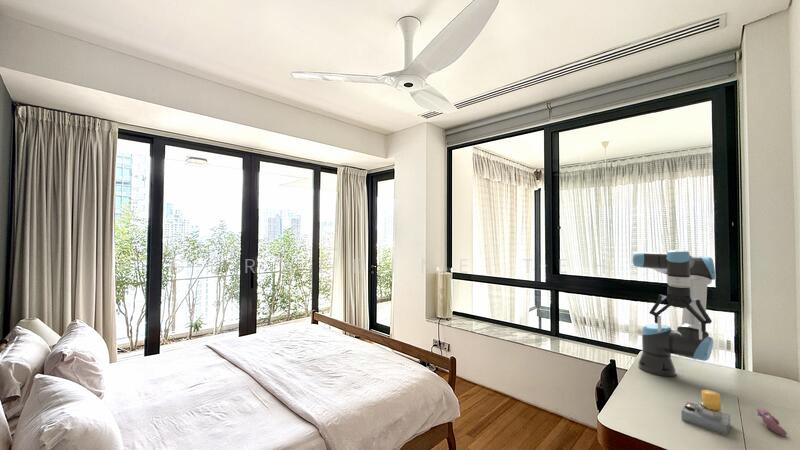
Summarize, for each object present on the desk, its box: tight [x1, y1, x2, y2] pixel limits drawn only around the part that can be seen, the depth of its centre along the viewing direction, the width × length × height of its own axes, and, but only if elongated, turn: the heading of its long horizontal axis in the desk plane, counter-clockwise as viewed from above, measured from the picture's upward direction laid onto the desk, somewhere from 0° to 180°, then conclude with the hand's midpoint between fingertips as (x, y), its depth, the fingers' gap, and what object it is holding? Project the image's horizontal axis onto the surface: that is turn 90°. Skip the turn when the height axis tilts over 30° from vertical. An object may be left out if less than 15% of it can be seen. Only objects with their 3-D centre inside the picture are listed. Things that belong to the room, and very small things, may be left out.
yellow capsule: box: [701, 389, 722, 411], centre depth 118 cm, size 5×5×8 cm
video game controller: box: [756, 408, 787, 437], centre depth 117 cm, size 10×5×7 cm, turn 141°
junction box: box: [681, 401, 731, 436], centre depth 119 cm, size 12×11×6 cm
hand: (679, 334), depth 138 cm, fingers open, 13 cm apart
